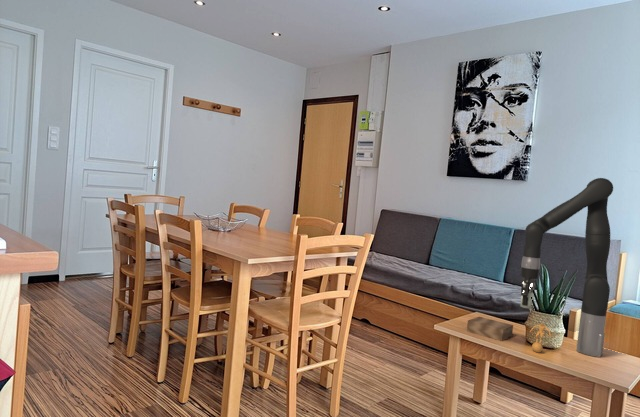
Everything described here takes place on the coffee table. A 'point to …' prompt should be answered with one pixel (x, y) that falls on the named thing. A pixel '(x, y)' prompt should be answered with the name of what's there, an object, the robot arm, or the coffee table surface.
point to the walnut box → (490, 328)
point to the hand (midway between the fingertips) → (526, 304)
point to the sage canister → (528, 300)
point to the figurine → (537, 346)
